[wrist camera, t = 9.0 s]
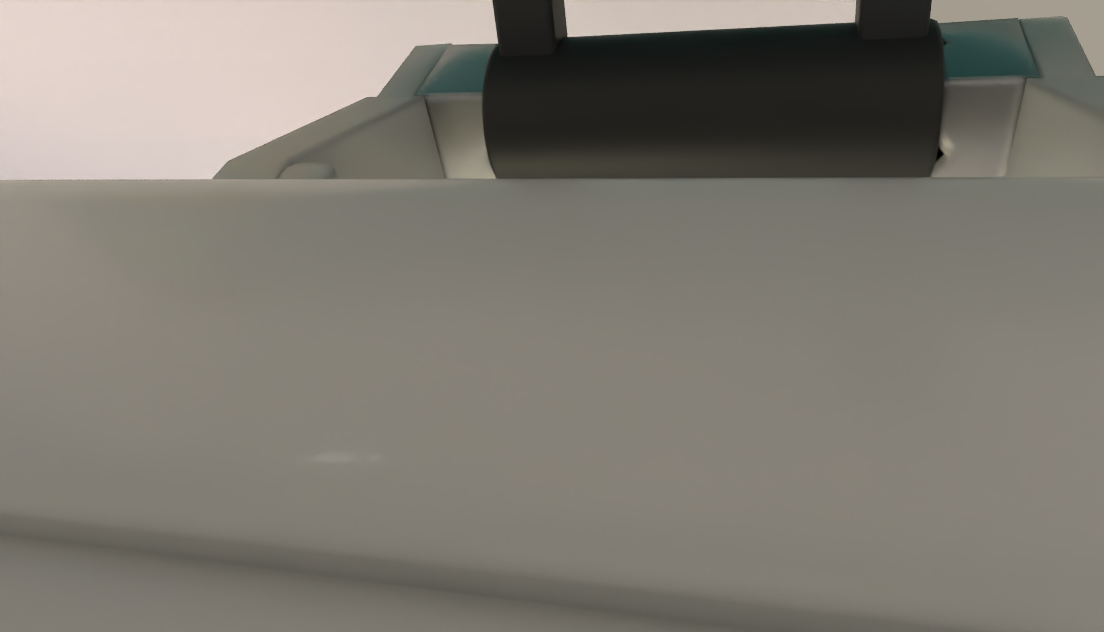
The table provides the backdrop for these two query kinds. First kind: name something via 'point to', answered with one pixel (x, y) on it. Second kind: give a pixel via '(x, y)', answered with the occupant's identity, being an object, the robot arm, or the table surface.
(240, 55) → the table surface
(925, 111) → the cooler lid
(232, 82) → the table surface
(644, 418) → the robot arm
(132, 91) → the table surface
